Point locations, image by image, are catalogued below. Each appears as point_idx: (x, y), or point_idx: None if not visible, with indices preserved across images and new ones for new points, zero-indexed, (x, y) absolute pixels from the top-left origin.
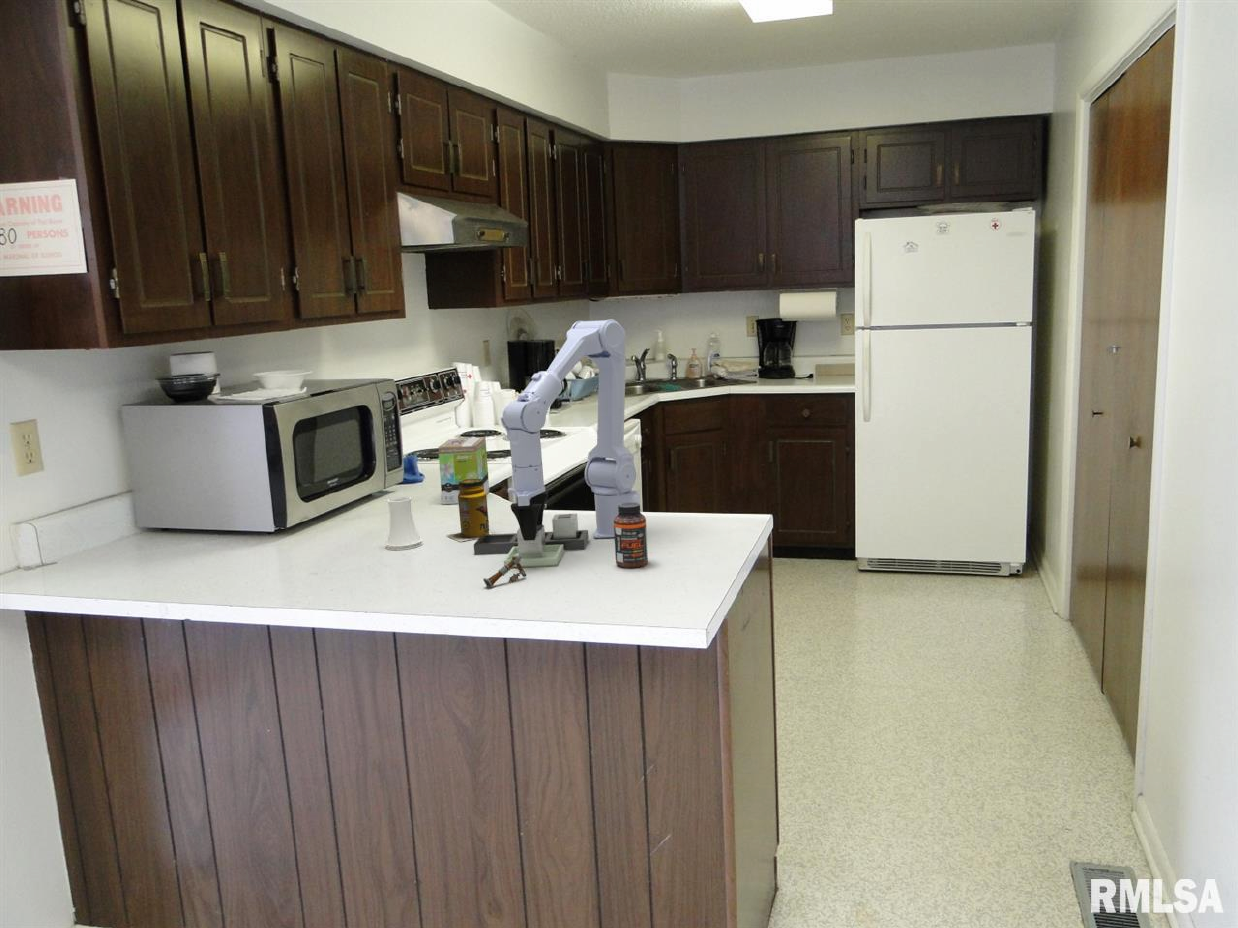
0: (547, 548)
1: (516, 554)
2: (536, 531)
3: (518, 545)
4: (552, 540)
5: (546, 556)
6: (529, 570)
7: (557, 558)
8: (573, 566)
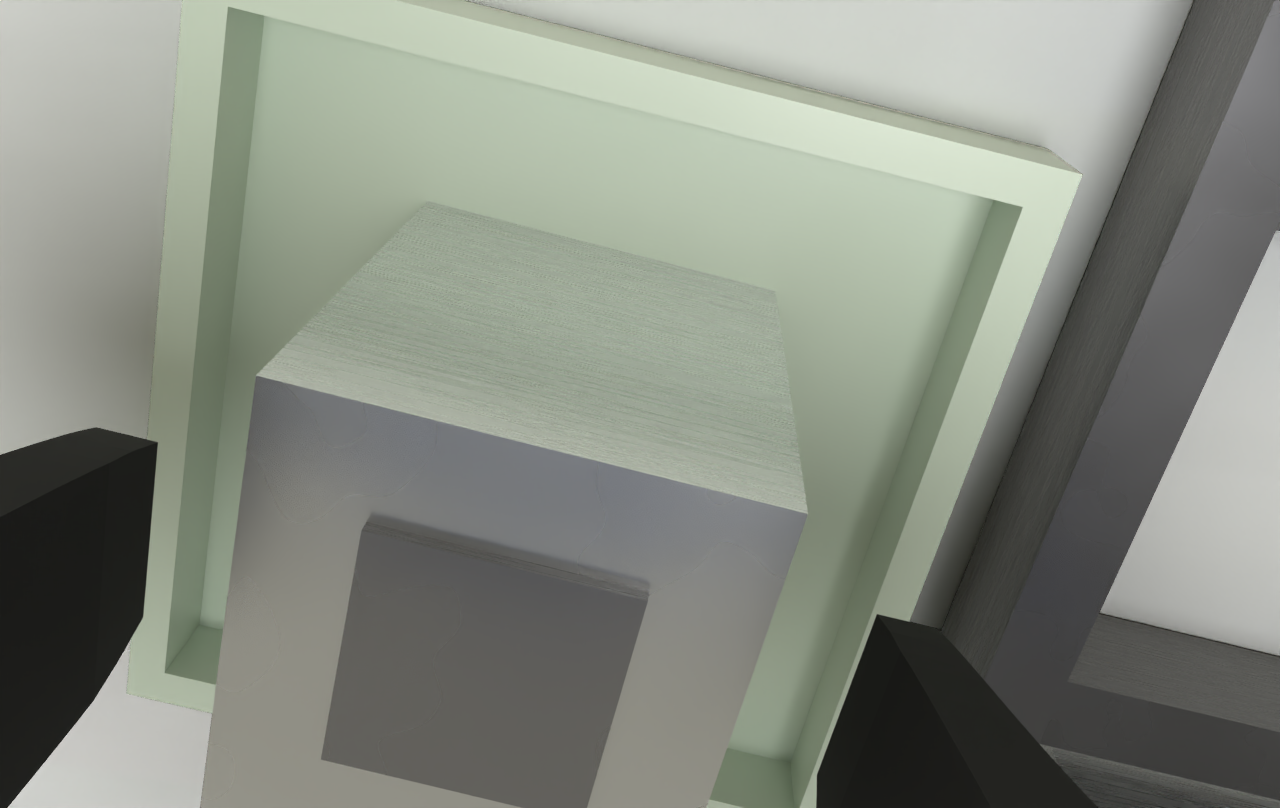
0: (846, 646)
1: (910, 194)
2: (61, 739)
3: (356, 283)
4: None
5: None
6: (55, 296)
7: (185, 694)
8: (120, 778)
